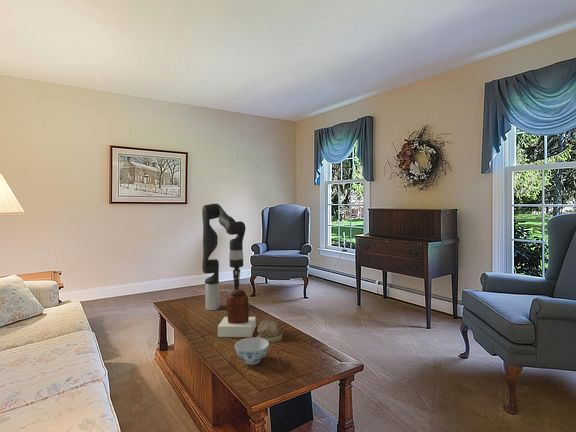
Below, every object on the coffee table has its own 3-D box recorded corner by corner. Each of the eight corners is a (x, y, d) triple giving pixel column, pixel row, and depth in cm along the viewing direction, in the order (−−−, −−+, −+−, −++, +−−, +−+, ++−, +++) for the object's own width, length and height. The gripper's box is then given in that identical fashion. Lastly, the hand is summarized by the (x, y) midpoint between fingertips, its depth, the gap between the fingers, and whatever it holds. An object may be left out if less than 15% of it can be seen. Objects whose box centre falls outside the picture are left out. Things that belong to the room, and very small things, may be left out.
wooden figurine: (248, 319, 189) (248, 287, 188) (248, 323, 183) (248, 290, 182) (227, 320, 187) (226, 288, 187) (226, 324, 181) (226, 291, 180)
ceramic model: (252, 341, 172) (252, 321, 172) (259, 333, 183) (259, 314, 183) (279, 343, 169) (279, 323, 169) (284, 335, 180) (284, 316, 179)
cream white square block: (224, 327, 194) (224, 316, 194) (255, 327, 193) (255, 316, 193) (217, 337, 178) (217, 326, 178) (251, 337, 177) (251, 326, 177)
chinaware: (272, 366, 144) (272, 348, 144) (237, 371, 140) (237, 353, 140) (265, 351, 159) (264, 335, 159) (233, 356, 155) (232, 339, 154)
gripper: (230, 256, 191) (230, 284, 191) (228, 260, 177) (229, 291, 177) (243, 255, 192) (244, 284, 192) (242, 259, 178) (243, 290, 178)
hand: (236, 287), depth 185 cm, fingers open, 8 cm apart
